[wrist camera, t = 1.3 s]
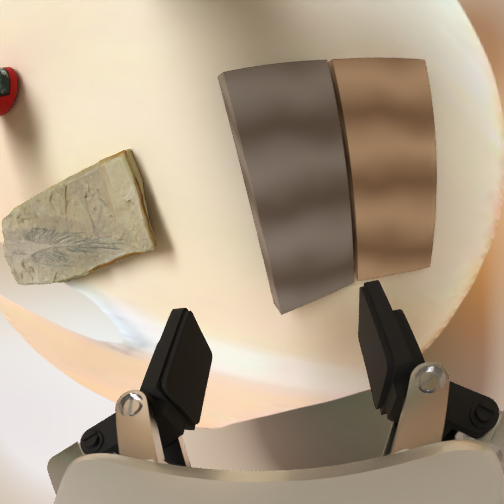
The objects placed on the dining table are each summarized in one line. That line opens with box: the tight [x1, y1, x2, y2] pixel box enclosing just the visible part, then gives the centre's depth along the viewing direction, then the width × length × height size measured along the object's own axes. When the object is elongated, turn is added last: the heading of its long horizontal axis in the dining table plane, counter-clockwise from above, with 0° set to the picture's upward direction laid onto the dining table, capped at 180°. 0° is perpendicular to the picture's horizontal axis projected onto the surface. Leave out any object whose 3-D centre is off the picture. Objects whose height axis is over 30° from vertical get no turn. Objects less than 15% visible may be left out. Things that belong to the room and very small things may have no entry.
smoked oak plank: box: [218, 60, 354, 315], centre depth 23 cm, size 22×9×2 cm, turn 13°
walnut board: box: [328, 58, 437, 281], centre depth 23 cm, size 22×9×2 cm, turn 13°
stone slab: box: [2, 149, 157, 285], centre depth 29 cm, size 12×4×30 cm
